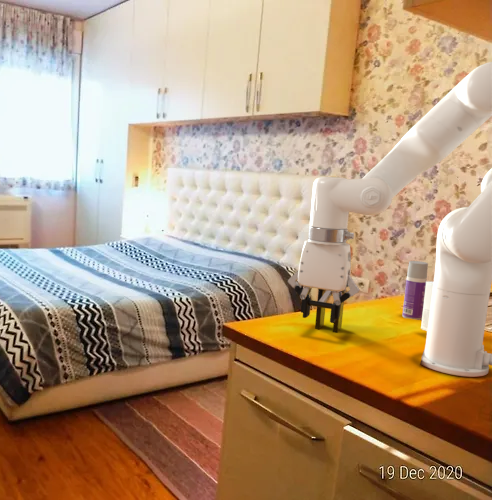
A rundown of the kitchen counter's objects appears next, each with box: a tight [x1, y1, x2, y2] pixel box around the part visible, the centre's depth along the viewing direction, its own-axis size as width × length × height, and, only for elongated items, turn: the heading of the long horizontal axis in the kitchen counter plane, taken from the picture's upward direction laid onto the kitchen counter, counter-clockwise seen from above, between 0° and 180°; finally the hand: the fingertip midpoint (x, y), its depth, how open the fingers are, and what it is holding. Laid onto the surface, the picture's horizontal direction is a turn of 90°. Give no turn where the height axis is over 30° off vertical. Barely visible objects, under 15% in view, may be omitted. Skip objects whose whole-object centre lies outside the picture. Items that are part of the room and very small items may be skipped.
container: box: [401, 260, 429, 321], centre depth 136 cm, size 5×5×15 cm
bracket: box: [314, 288, 347, 334], centre depth 119 cm, size 10×8×13 cm
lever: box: [308, 290, 333, 310], centre depth 115 cm, size 12×5×2 cm, turn 147°
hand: (319, 318), depth 111 cm, fingers closed on lever, 5 cm apart
